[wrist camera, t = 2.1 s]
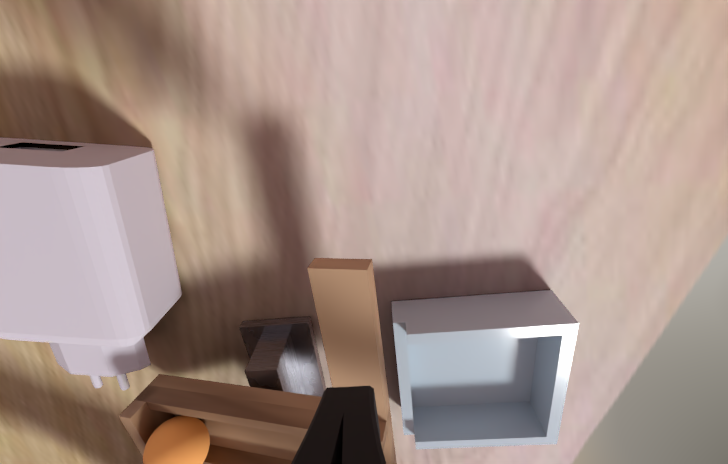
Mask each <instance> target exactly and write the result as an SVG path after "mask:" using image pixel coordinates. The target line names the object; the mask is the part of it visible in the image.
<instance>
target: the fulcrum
mask: <svg viewBox="0 0 728 464" xmlns="http://www.w3.org/2000/svg"><path fill="white" fill-rule="evenodd" d="M239 328H240V331H241V334H242V337H243V340H244V343H245V346H246V349H247V352H248V355H249V358H250V361H249V363H248V365H247V368H246V370H245V373H246V376H247V379H248V382H249V385H250V387H255V388H262V389H269V390H277V391H284V392H291V393H298V394H305V395H312V396H320V397H322V395H323V392H324V391H325V390H326V386H325V381H324V377H323V372H322V368H321V363H320V359H319V354H318V350H317V345H316V341H315V336H314V332H313V328H312V323H311V319H310V317H297V318H282V319H268V320H254V321H243V322H242V324H241V326H240V327H239Z"/></svg>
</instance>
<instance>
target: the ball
mask: <svg viewBox="0 0 728 464" xmlns="http://www.w3.org/2000/svg"><path fill="white" fill-rule="evenodd" d="M209 446H210V436H209V432H208V429H207V427H206V426H205V424H204V423H203V422H202V421H201V420H200V419H198V418H195V417H190V416H184V415H181V416H176V417H173V418H171V419H169V420H167V421H165V422H164V423H162V424H161V425H160V426H159V427H158V428H157V429H156V430H155V431H154V432H153V433H152V435H151V436H150V438H149V439H148V441H147V443H146V446H145V449H144V454H143V464H203V462H204V461H205V459H206V456H207V454H208V451H209Z"/></svg>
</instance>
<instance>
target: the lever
mask: <svg viewBox="0 0 728 464" xmlns="http://www.w3.org/2000/svg"><path fill="white" fill-rule="evenodd" d="M307 270H308V274H309V279H310V284H311V288H312V293H313V298H314V303H315V307H316V312H317V317H318V321H319V326H320V331H321V336H322V340H323V345H324V350H325V354H326V359H327V364H328V369H329V373H330V378H331V383H332V387H352V386H371V387H372V388H374V393H375V400H376V407H377V414H378V421H379V428H380V440H381V446H382V449H383V453H384V457H385V461H386V464H396V455H395V447H394V439H393V430H392V422H391V414H390V405H389V397H388V389H387V380H386V372H385V364H384V355H383V347H382V339H381V330H380V322H379V314H378V305H377V297H376V289H375V280H374V272H373V264H372V259H332V258H315V259H314V260H313V261H312V263H311V264H310V265H309V267H308V268H307ZM321 398H322V397H320V396H312V395H305V394H298V393H291V392H284V391H277V390H269V389H262V388H255V387H248V386H241V385H234V384H226V383H219V382H212V381H205V380H198V379H190V378H183V377H176V376H169V375H162V374H159V375H158V376H157V377H156V378H155V379H154V380H153V381H152V382H151V383H150V384H149V385H148V386H147V387H146V388H145V389H144V390H143V391H142V392H141V394H140V395H139V396H138V397H137V398H136V399H135V400H134V401H133V402H132V403H131V404H130V405H129V406H128V407H127V408H126V409H125V410H124V411H123V412H122V413H121V414H120V415H119V416H118V417H119V418H120V420H121V422H122V423H123V425H124V427H125V428H126V430H127V431H128V433H129V435H130V436H131V438H132V440H133V441H134V443H135V445H136V446H137V448H138V450H139V451H140V453H141V455H142V456H143V454H144V449H145V446H146V443H147V441H148V439H149V438H150V436H151V435H152V433H153V432H154V431H155V430H156V429H157V428H158V427H159V426H160V425H161V424H162V423H164V422H165V421H167V420H169V419H171V418H173V417H176V416H181V415H184V416H190V417H195V418H198V419H200V420H201V421H202V422H203V423H204V424H205V426H206V427H207V429H208V432H209V436H210V446H209V451H208V454H207V456H206V459H205V461H204V462H203V464H291V463H292V461H293V459H294V457H295V455H296V453H297V451H298V449H299V447H300V445H301V443H302V441H303V439H304V437H305V435H306V432H307V430H308V428H309V426H310V424H311V422H312V419H313V417H314V415H315V412H316V410H317V408H318V405H319V403H320V400H321Z"/></svg>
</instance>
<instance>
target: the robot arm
mask: <svg viewBox="0 0 728 464" xmlns="http://www.w3.org/2000/svg"><path fill="white" fill-rule="evenodd" d="M291 464H386V461H385V457H384V453H383V449H382V446H381V440H380V428H379V421H378V414H377V407H376V400H375V393H374V388H372V387H371V386H352V387H333V388H327V389H326V390H325V391H324V392H323V395H322V398H321V400H320V403H319V405H318V408H317V410H316V412H315V415H314V417H313V419H312V422H311V424H310V426H309V428H308V430H307V432H306V435H305V437H304V439H303V441H302V443H301V445H300V447H299V449H298V451H297V453H296V455H295V457H294V459H293V461H292V463H291Z"/></svg>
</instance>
